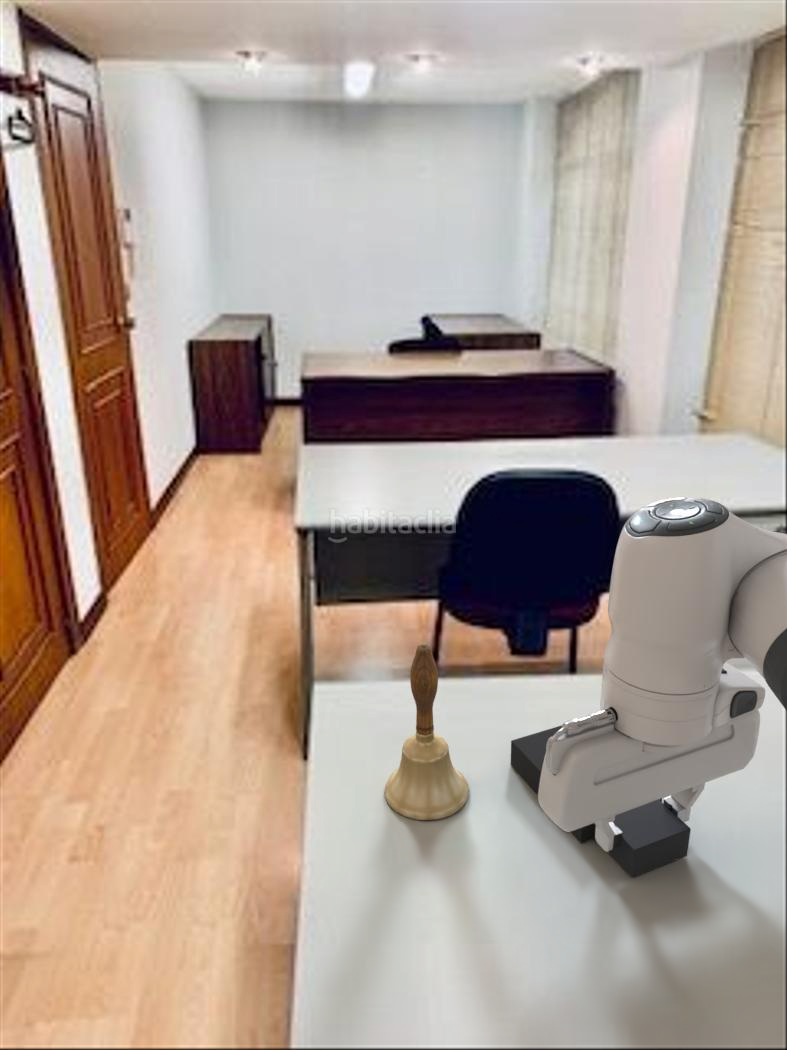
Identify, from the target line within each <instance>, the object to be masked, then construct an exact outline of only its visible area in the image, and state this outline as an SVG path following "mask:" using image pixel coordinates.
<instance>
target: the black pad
mask: <svg viewBox="0 0 787 1050" xmlns="http://www.w3.org/2000/svg"><path fill="white" fill-rule="evenodd" d="M562 725H563V724H562ZM562 725H558V726H554V727H551V728H548V729H545V730H542V731H538V732H535V733H532V734H529V735H526V736H522V737H518V738H515V739H512V740H511V741H510V766H511V767H512V768H513V770H514V771H516V773H517V774H518V775H519V776H520V777H521V778H522V779H523V781H524V782H525V783H526V784H527V785H528V786H529V787H530V788H531V790H532V791H533V792H534V793H535V794H536V795H537V796H538V791H539V784H540V777H541V772H542V767H543V762H544V758H545V754H546V746H547V742H548V740H549V738H550V737H553V735H554V734H555V733H556V732H557V731H559V730H560V729H562ZM659 800H660V801H661V802H662V803H663V798H662V799H659ZM595 830H596V825H595V824H594V823H593V824H590V825H587V826H585V827H582V828H579V829H576V830H574V831H570V832H569V833H571V834H572V836H573V837H574V838H575V839H576V840H577V841H578V842H579V843H580V844H583V843H586V842H588V841H591V840H593V839H595Z"/></svg>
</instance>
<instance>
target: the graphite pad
mask: <svg viewBox="0 0 787 1050" xmlns="http://www.w3.org/2000/svg"><path fill="white" fill-rule="evenodd" d="M613 823H614V824H615V826H616V827H618V828H619V829H620V830H621V831H622V832H623V837H622V840H621V846H620V847H617V848H615V849H612V850H610V851H608V852H607V853H608V854H609V856H610V857H611V858H612V859H613V860H614V861H615V862H616V863H617V864H618V865H619V866H620V868H621V869H622V870H623V871H624V872H626V874H627V875H628V877H630V878H636V877H637V876H640V875H642V874H645V873H647V872H650V871H653V870H654V869H658V868H660V867H662V866H665V865H667V864H669V863H672V862H674V861H678V860H680V859H683V858H684V857H687V856H688V852H689V844H690V838H691V837H690V836H691V827H690V826H689V825H687V824H686V822H683V821H682V820H681V819H680V818H679V817H677V816H676V815H675V814H674V813H673V812H672V811H671V810H670V809H668V808H667V807H666V806H665V805H664V804H663V801H662V802H661V801H660V800H656V801H653V802H651V803H648V804H645V805H642V806H640V807H637V808H634V809H631V810H629V811H626V812H623V813H620V814H618V815H615V820H614V821H613Z"/></svg>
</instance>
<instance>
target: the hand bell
mask: <svg viewBox="0 0 787 1050" xmlns="http://www.w3.org/2000/svg"><path fill="white" fill-rule="evenodd" d="M410 666H411V667H410V671H409V673H410V675H409V676H410V689H411V694H412V697H413V700H414V702H415V707H416V716H415V720H416V721H415V723H416V724H415V733H414V734H412V735H410V736H409V737H408V738H406V740H405V741H404V742H403V744H402V747H401V757H400V763H399V766H398V768H397V769H395V770H394V771H393V772H392V773H391V775H390V776H389V778H388V779H387V780H386V783H385V786H384V797H385V800H386V803H388V805H389V806H390V808H391V809H392V810H394V811H395V812H396V813H397V814H399V815H402V816H403V817H406V818H409V819H413V820H417V821H431V820H432V821H433V820H440V819H445V818H446V817H450V816H452V815H454V814H456V813H457V812H458V811H459V810H461V809H462V808H463V807H464V806H465V805H466V803H467V801H468V799H469V795H470V788H469V784H468V781H467V779H466V778H465V776H464V775H463V773H461V772H460V771H459V770H458V769H457V768H456V767H454V765H453V762H452V760H451V756H450V749H449V743H448V742H447V741H446V740H445V738H444V737H442V736H441V735H439V734H437V733H435V732H434V731H435V725H434V711H433V708H434V702H435V699H436V696H437V692H438V686H439V671H438V666H437V663H436V660H435V658H434V655H433V653H432V649H431V646H430V645H428V644H424V643H423V644H419V645H417V647H416V650H415V654H414V657H413V660H412V662H411V665H410Z"/></svg>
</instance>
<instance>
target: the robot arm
mask: <svg viewBox="0 0 787 1050" xmlns="http://www.w3.org/2000/svg"><path fill="white" fill-rule="evenodd" d="M607 603H608V604H607V614H608V619H609V622H610V636H609V639H608V642H607V643H606V646H605V648H604V649H605V650H604V653H603V663H602V677H601V691H600V702H599V705H600V706H599V708H600V710H599V711H595V712H593V713H590V714H588V715H587V716H584V717H580V718H573V719H569V720H567V721H565V722H564V723H562V729H560V730H559V731H557V732H556V733H555V734H554V735H553V737H550V738H549V740H548V742H547V746H546V754H545V758H544V762H543V767H542V772H541V777H540V784H539V791H538V795H537V801H538V804H539V806H540V808H541V809H542V811H543V812H544V813H545V815H547V817H548V818H549V819H550V820H551V822H553V823H554V824H555V825H556V826H557V827H559V828H560V829H561V830H562V831H565V832H566V833H571V832H570V831H574V830H576V829H579V828H582V827H585V826H587V825H590V824H593V823H594V824H595V825H596V830H595V838H594V839H595V842H596V843H597V844H598V846H599V847H601V849H602V850H603V851H604V852H607V853H608V851H610V850H612V849H615V848H617V847H620V846H621V840H622V837H623V832H622V831H621V830H620V829H619V828H618V827H616V826H615V824H614V823H613V821H614V820H615V815H618V814H620V813H623V812H626V811H629V810H631V809H634V808H637V807H640V806H642V805H645V804H648V803H651V802H653V801H656V800H659V799H662V800H663V801H662V803H663V804H664V805H665V806H666V807H667V808H668V809H670V810H671V811H672V812H673V813H674V814H675V815H676V816H677V817H679V818H680V819H681V820H682V821H683V822H684V823H686V822H689V820H690V815H691V808H692V807H693V806H694V805H695V803H696V801H697V799H699V798H700V795H702V793H703V791H704V790H705V785H706V783H708V782H710V781H711V782H712V781H714V780H716V779H719V778H723V777H726V776H728V775H730V774H733V773H736V772H738V771H741V770H744V769H745V768H746V767H747V766H748V765H749V763H750V762H751V760H753V758H754V756H755V753H756V750H757V745H758V739H759V733H760V727H761V726H760V725H761V714H760V713H761V712H760V711H759V709H761V708H762V706H763V705H764V702H765V698H766V688H765V687H764V686H762V685H761V684H760V683H759V682H757V680H755V679H753V678H752V677H750V676H749V675H747V674H745V673H744V672H742V671H741V670H740V669H738V668H736V667H734V666H733V665H731V664H730V663H727V661H729V660H731V659H745V660H746V661H747V662H748V663H749V664H750V665H751V666H752V667H753V668H754V669H755V670H756V672H757V673H758V674H759V675H760V676H761V677H762V678H763V679H764V680H765V683H766V685H767V687H769V689H770V691H771V692H772V693H773V694H774V696H775V697H776V699H777V700H778V701H779V703H780V704H781V706H782V707H783V708H784V709H785V711H786V712H787V532H782V531H777V530H769V529H764V528H761V527H758V526H757V525H754V524H751V523H749V522H747V521H745V520H743V519H742V518H741V517H739V516H737V515H735V514H734V513H733V512H731V511H730V510H729V509H728V507H726V506H725V505H724V504H722V503H720V502H717V501H714V500H711V499H706V498H697V497H685V496H683V497H682V496H681V497H673V498H672V497H671V498H665V499H661V500H658V501H657V500H656V501H654V502H651V503H648V504H647V505H645V506H643V507H641V508H639V509H637V510H636V511H635V512H634V513H632V514H631V516H629V517H628V519H627V520H626V521H625V523H624V525H623V527H622V529H621V532H620V533H619V538H618V541H617V544H616V548H615V553H614V557H613V563H612V569H611V575H610V583H609V593H608V601H607Z"/></svg>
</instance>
